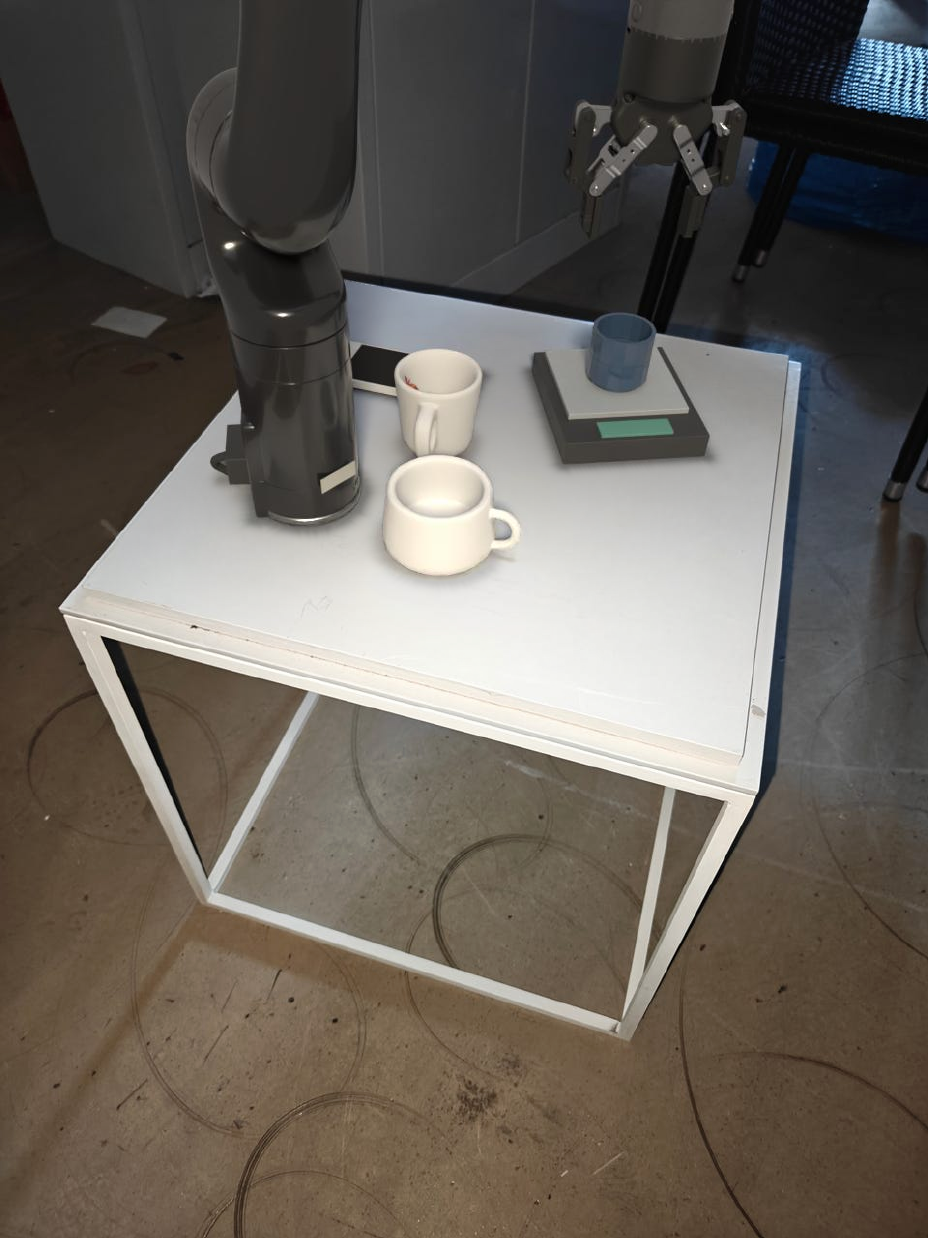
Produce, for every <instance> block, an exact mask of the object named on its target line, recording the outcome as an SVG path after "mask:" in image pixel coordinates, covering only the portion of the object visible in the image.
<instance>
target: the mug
mask: <svg viewBox="0 0 928 1238" xmlns="http://www.w3.org/2000/svg"><path fill="white" fill-rule="evenodd" d="M494 505H495V501H494V489H493V483H492V480H491V479H490V477H489V476H488V473H486V471H484V470H483V469H482V468H481V467H480V466H479V465H477V464H475V463H473V462H472V461H470V460H468V459H465V458H461V457H458V456H448V455H429V456H423V457H416V458H412V459H410V460H407V461H406V462H404V463H403V464H401V465H399V466H398V467H397V468H396V469H395V470H394V471H393V472H392V473H391V474H390V477H389V478H388V481H387V484H386V489H385V499H384V509H383V518H382V539H383V540H382V541H383V544H384V546H385V549H386V551H387V553H388V554H389V556H391V557H392V558H393V559H394V561H396V562H397V563H398V564H400V565H402V566H403V567H405V568H406V569H408V570H411V571H414V572H416V573H419V574H422V575H427V576H433V577H435V576H451V575H456V574H462V573H465V572H466V571H468V570H471V569H473V568H475V567H476V566H477V565H478V564H480V563H481V562H483V561H484V560H485V559H487V557H488V556H489V555H490V553H491V552H492V550H502V551H503V550H507V549H511V548H513V547H514V546H516V545H517V544H518V543H519V541H520V540H521V538H522V527H521V525H520V522H519V520H518V519H517V518H516V517H515V516H514V515H513V514H512V513H510V512H509V511H507V510H504V509H501V508H497V507H496V508H495V506H494ZM496 519H498V520H501V521H503V522H504V523H506V524H507V525H508V526H509V527H510V529H511V534H510V537H509V538H507V539H496V532H497V531H496Z"/></svg>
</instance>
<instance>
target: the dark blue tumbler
mask: <svg viewBox="0 0 928 1238" xmlns="http://www.w3.org/2000/svg"><path fill="white" fill-rule="evenodd" d="M656 335H657V328H656V327H655V324H654V323H652V322H651V321H649V319H647V318H646V317H643V316H640V315H637V314H636V313H635V314H634V313H628V312H611V313H610V312H609V313H605V314H602V315H601V316H599V317H598V318H596V319H595V320H594V322H593V325H592V331H591V336H590V344H589V349H590V350H589V356H588V362H587V369H586V372H587V375H588V377H589V379H590V380H591V381H592V382H593V383H594V384H595V385H596V386H597V387H599V388H601V389H603V390H606V391H610V392H616V393H624V392H630V391H633V390H635V389H637V388H638V387H640V386H641V385H642V384H644V383H645V382H646V378H647V374H648V369H649V364H650V359H651V355H652V350H653V346H655V340H656Z"/></svg>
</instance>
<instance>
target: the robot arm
mask: <svg viewBox="0 0 928 1238" xmlns="http://www.w3.org/2000/svg"><path fill="white" fill-rule="evenodd" d="M363 3H364V0H239V26H238V28H239V29H238V44H237V58H236V67H232V68H228V69H226V70H224V71H222V72H219V73H218V74H217V75H215V76H214V77H212V78H211V79H210V80H209V81H208V82H207V83H206V84H205V85H204V86H203V87H202V88H201V90H200V91H199V92H198V93H197V96H196V97H195V99H194V101H193V103H192V106H191V109H190V112H189V115H188V119H187V120H188V121H187V125H186V135H185V136H186V137H185V138H186V142H185V143H186V147H185V148H186V157H187V165H188V171H189V177H190V181H191V187H192V192H193V197H194V202H195V207H196V212H197V216H198V222H199V227H200V230H201V235H202V240H203V245H204V250H205V253H206V259H207V263H208V267H209V270H210V273H211V277H212V280H213V282H214V284H215V287H216V290H217V293H218V295H219V298H220V302H221V306H222V309H223V315H224V321H225V325H226V331H227V335H228V336H227V337H228V342H229V347H230V348H229V349H230V353H231V358H232V365H233V370H234V376H235V381H236V388H237V393H238V399H239V404H240V423H235V424H234V423H233V424H232V423H231V424H227V425H226V436H225V437H226V439H225V450H224V451H221V452H218V453H216V454H214V455H212V456H211V457H210V460H209V461H210V462H209V464H210V466H211V467H212V468H213V469H214V470H215V471H217V472H219V473H222V474H224V475H226V476H227V478H228V483H229V485H230V486H231V485H249V484H250V489H251V496H252V500H253V506H254V512H255V517H256V518H270V519H271V520H274V521H276V522H279V523H282V524H285V525H290V526H298V527H311V526H320V525H323V524H328V523H330V522H331V523H332V522H333V521H336V520H338V519H340V518H342V517H343V516H345V515H346V514H348V513H349V512H350V511H352V510H353V508H354V507H355V506H356V505H357V504H358V502H359V500H360V497H361V493H362V487H361V486H362V485H361V478H360V469H359V468H360V467H359V457H358V442H357V429H356V428H357V427H356V412H355V400H354V399H355V398H354V387H353V382H352V367H351V353H350V341H351V340H350V339H351V338H350V324H349V323H350V322H349V307H348V294H347V286H346V281H345V279H344V276H343V274H342V271H341V269H340V267H339V265H338V262H337V260H336V258H335V257H336V256H335V255H334V252H333V250H332V246H331V244H330V240H329V238H330V237H331V235H333V233H335V231H336V230H337V229H338V227H339V225H340V224H341V222H342V221H343V220H344V217H345V215H346V212H347V210H348V208H349V206H350V204H351V200H352V196H353V191H354V188H355V182H356V171H357V159H358V119H359V118H358V115H359V111H358V110H359V78H360V75H359V73H360V47H361V46H360V45H361V27H362V26H361V25H362V12H363ZM734 5H735V0H630V1H629V6H628V7H629V8H628V14H627V21H626V27H625V34H624V40H623V47H622V54H621V61H620V67H619V73H618V78H617V79H618V80H617V85H616V86H617V87H616V93H615V95H614V98H613V100H612V102H610V105H600V104H599V105H598V104H590V103H589V102H588V100H586V99H579V100H577V101H576V103H575V104H574V108H573V112H572V119H571V122H570V123H571V124H570V130H569V134H568V142H567V146H566V151H565V158H564V162H563V168H562V172H563V175H564V177H565V179H566V180H567V182H568V184H569V187H571V188H572V189H574V190H577V189H578V190H581V191H582V196H581V204H580V210H579V219H578V221H579V224H580V227H581V229H582V231H583V232H584V234H585V235H586V236H587V239H588V240H598V239H599V234H600V227H601V223H602V216H603V210H604V209H603V208H604V203H605V196H604V194H603V192H604V191H605V190H606V189H607V187H608V186H609V185H610V184H611V183H612V182H613V181H614V179H615V178H618V177H620V176H621V175H622V174H623V173H624V172H625V171H626V170H627V169H628V168H629V166H630V165H631V164H634V165H635V166H636V167H648V166H653V165H658V166H662V167H673V166H674V164H676V163H677V162H680V163H681V165H682V167H683V169H684V172H685V174H686V176H687V178H688V180H689V182H690V184H689V185H686V186H685V189H684V194H683V199H682V203H681V207H680V212H679V217H678V222H677V231H678V233H679V234H680V235H681V238H692V237H693V235H694V231H698V230H699V229H700V227H701V225H702V221H703V217H704V213H705V209H706V206H707V201H708V198H709V197H708V196H709V195H710V193H711V192H712V191H713V190H715V189H717V188H720V187H723V188H729V187H731V186H732V185H733V183H734V181H735V179H736V174H737V169H738V163H739V158H740V154H741V149H742V144H743V138H744V134H745V130H746V124H747V119H748V113H747V112H746V111H745V109H744V108H743V107H741V105H739V103H737V101H735V100H734V99H729V100H727V101H725V102H724V104H723V105H714V106H713V105H712V97H713V94H714V93H715V90H716V85H717V80H718V75H719V71H720V67H721V62H722V57H723V54H724V48H725V45H726V40H727V35H728V31H729V26H730V23H731V21H732V20H733V16H734V10H735V7H734ZM605 124H608V125H609V127H610V129H611V130H612V133H613V135H612V136H611V137H610V139H608V141H607V142H606V143H605V145H604V146H603V147H602V148H601V149H600V151H599V155H598V157H597V158H596V159H595V161H593V163H592V164H591V165H590V166H589V168H588V169H587V167H588V162H589V156H590V152H591V151H590V150H591V146H592V142H593V141H592V140H593V138H595V137H596V136H599V134H600V132H601V130H602V128H603V127H604V125H605ZM712 124H713V131H714V133H716V134H717V137H716V142H715V147H714V152H713V159H712V164H711V166H710V167H707V168H706V167H705V163H704V161H703V159H702V157H701V155H700V153H699V151H698V148H697V146H696V143H697V142H698V140H699V139H700V138H701V137H702V136H703V135H704V134H705V132H706V131H707V130H708V129H709V128H710V126H711V125H712ZM223 462H225V464H224V463H223Z"/></svg>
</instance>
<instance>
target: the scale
mask: <svg viewBox="0 0 928 1238" xmlns="http://www.w3.org/2000/svg"><path fill="white" fill-rule="evenodd" d="M589 350H590V348H573V349H572V348H571V349H570V348H569V349H549V350H548V349H547V350H545V351H538V352H537V351H536V352H533V358H532V367H531V373H532V377H533V379H534V382H535V385H536V388H537V392H538V395H539V397H540V399H541V400H540V401H541V403H542V405H543V408H544V409H543V410H544V411H545V414H546V418H547V420H548V424H549V427H550V429H551V432H552V435H553V437H554V440H555V444H556V446H557V447H556V448H557V449H558V452H559V455H560V458H561V461H562V464H563V465H573V464H575V465H576V464H590V463H591V464H592V463H606V462H607V463H608V462H623V461H626V462H627V461H641V460H656V459H657V460H658V459H659V460H660V459H675V458H677V459H678V458H692V457H704V456H705V455H706V452H707V448H708V444H709V441H710V437H711V435H710V433H709V431H708V429H707V427H706V425H705V423H704V422H703V420H702V417H700V414H699V412H698V411H697V409H696V407H695V404H694V403H693V401H692V400H691V398H690V396H689V394H688V392H687V391H686V388H685V386H684V385H683V383H682V381H681V379H680V378H679V377H680V376H679V375H678V374H677V372H676V370H675V368H674V365H673V364H672V363H671V360H670V359H669V357H668V355H667V353H666V351H665V349H664V348H663V346H657V345H653V350H652V355H651V359H650V364H649V369H648V374H647V378H646V382H645V383H644V384H642V385H641V386H640V387H638V388H637V389H635V390H633V391H630V392H624V393H616V392H610V391H606V390H603V389H601V388H599V387H597V386H596V385H595V384H594V383H593V382H592V381H591V380H590V379H589V377H588V375H587V372H586V369H587V362H588V356H589Z"/></svg>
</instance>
